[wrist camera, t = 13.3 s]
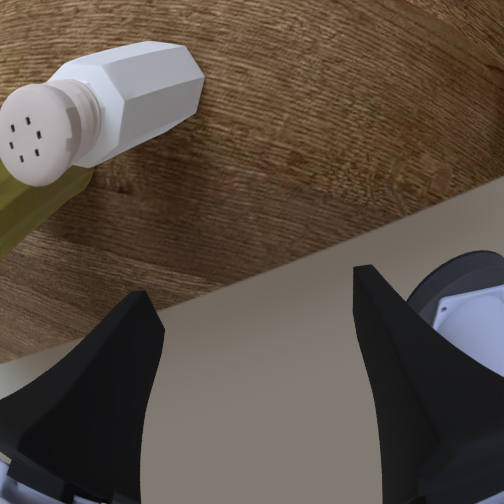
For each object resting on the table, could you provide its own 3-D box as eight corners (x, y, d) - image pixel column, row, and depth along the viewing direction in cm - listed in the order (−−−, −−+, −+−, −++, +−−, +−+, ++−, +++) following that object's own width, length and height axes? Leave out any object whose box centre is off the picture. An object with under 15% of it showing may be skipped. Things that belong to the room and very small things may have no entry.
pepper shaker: (123, 140, 17) (0, 241, 8) (106, 54, 14) (-49, 84, 5) (213, 123, 16) (140, 221, 7) (198, 29, 13) (92, -3, 4)
